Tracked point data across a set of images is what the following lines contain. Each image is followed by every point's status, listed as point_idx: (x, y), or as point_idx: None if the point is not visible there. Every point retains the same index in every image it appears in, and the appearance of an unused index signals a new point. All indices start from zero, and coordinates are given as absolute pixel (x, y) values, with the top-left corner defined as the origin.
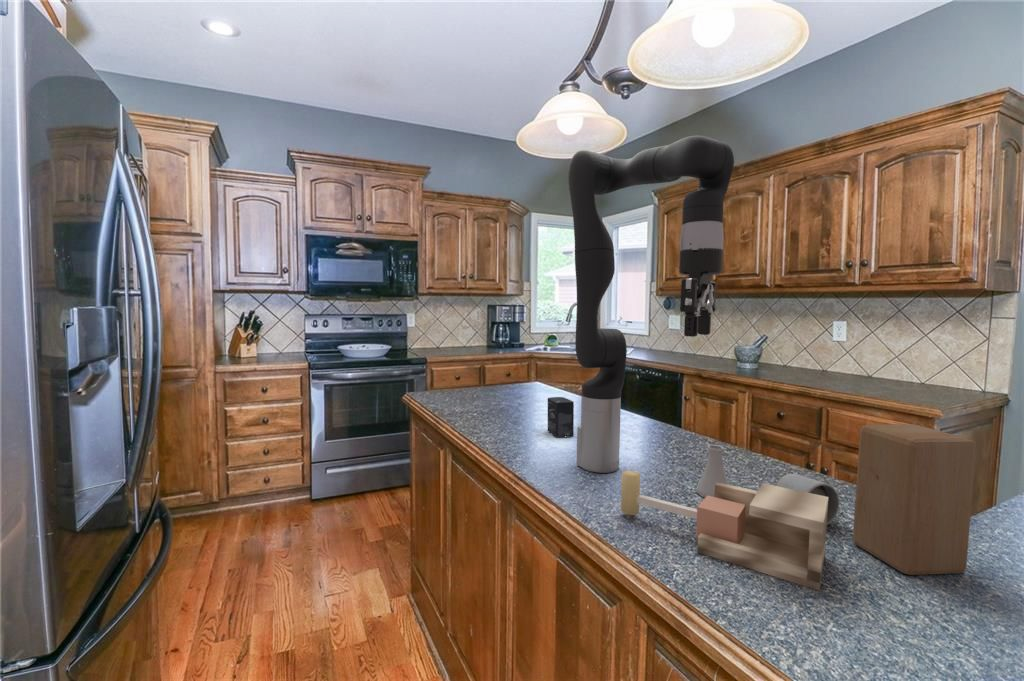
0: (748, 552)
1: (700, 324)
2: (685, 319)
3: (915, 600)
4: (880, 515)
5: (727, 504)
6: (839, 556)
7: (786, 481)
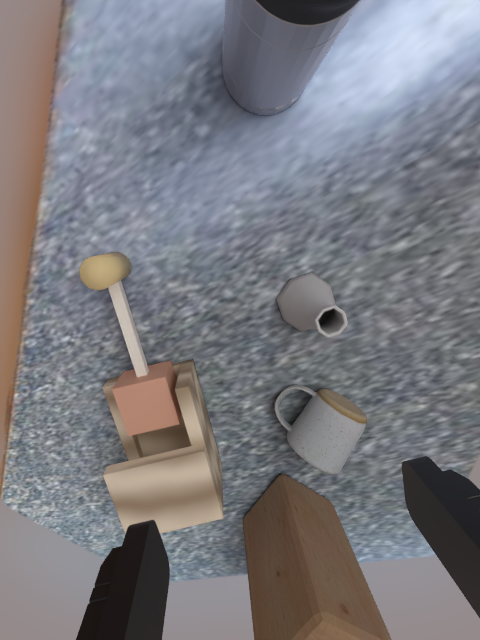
0: (120, 437)
1: (442, 517)
2: (98, 632)
3: (200, 530)
4: (265, 536)
5: (158, 409)
6: (236, 471)
7: (324, 420)
